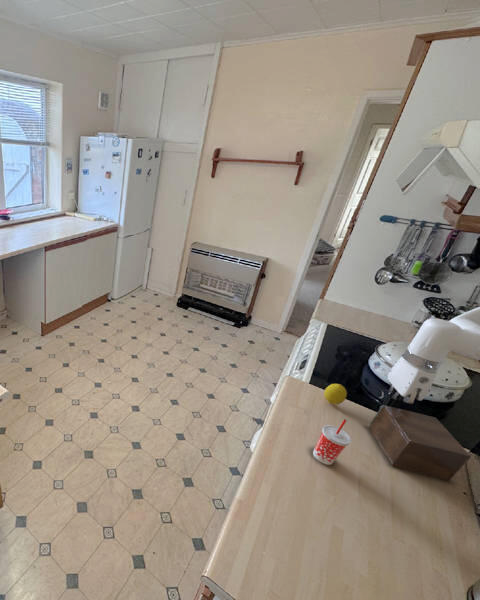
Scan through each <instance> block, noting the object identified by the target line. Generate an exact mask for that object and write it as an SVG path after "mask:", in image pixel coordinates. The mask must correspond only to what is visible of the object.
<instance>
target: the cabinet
mask: <svg viewBox="0 0 480 600" xmlns="http://www.w3.org/2000/svg"><path fill="white" fill-rule="evenodd" d="M382 405H383V404H382ZM379 410H380V409H379ZM377 413H378V412H377ZM375 416H376V415H375ZM373 419H374V418H373ZM371 422H372V421H371ZM368 430H369V432H370V433H371V435H372V437H373V438H374V440H375V441H376V443H377V445H378V446H379V448H380V449H381V451H382V452H383V454H384V456H385V457H386V459H387V461H388V462H389V464H390V465H391V466H392V467H395V468H399V469H402V470H406V471H410V472H413V473H418V474H421V475H423V476H427V477H431V478H435V479H438V480H442V481H445V482H450V481H451V480H452V479H453V477H454V476H455V475H456V474H458V472H459V471H460V470H461V468H462V467H463V466H464V465H465V464H466V463H467V462H468V461H469V460H470V459H471V457H472V456H471V455H470V453H468V451H467V450H466V449H465V448H464V447H463V446H462V444H460V443H459V441H457V439H456V438H455V437H454V436H453V435H452V434H451V432H449V431H448V429H447V428H446V427H445V426H444V425H443V424H442V423H441V422H440V420H439V419H438V418H437V417H436V416H435V417H434V416H429V415H426V414H422V413H418V412H414V411H410V410H407V409H406V410H405V409H402V408H394V407H389V406H385V405H383V407H382V408H381V410H380V412H379V413H378V415H377V416H376V418H375V419H374V421H373V422H372V424H370V426H368Z"/></svg>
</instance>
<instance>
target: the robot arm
mask: <svg viewBox="0 0 480 600" xmlns="http://www.w3.org/2000/svg"><path fill="white" fill-rule="evenodd" d="M450 353H455V354H457V355H460V356H463V357H466V358H468V359H472V360H475V361H480V306H479V307H476V308H473V309H470V310H469V311H466V312H464V313H461V314H459V315H457V316H455V317H452V318H451V319H450V320H445V319H441V318H435V317H431V318H427V319H426V320H425V321H423V323H422V325H421V326H420V328H419V329H418V330H417V332H416V334H415V336H414V337H413V339H412V340H411V341H410V343H409V345H408V346H407V348H406V350H405V351H404V353H403V354H402V356H401V357H400V358H399V359H398V360H397V361H396V362H395V363H394V365H393V366H392V368H391V369H390V371H389V372H388V375H387V376H386V377H387V380H388V383H389V386H390V387H389V389H388V393H387V396H386V397H385V398H384V400H383V402H382V405H385V406H389V407H394V408H398V409H400V406H402V403H404V402H405V404H410V405H413V404H414V401H415V400H417V401H420V402H421V401H423V400H424V399H425V397H426V396H427V394H428V393H429V391H430V389H431V388H432V386H433V384H434V382H435V379H436V377H437V370H438V369H439V368H440V366H441V365H442V364H443V362H444V361H445V359H446V358H447V357H448V355H449V354H450Z"/></svg>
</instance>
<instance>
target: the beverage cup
mask: <svg viewBox="0 0 480 600" xmlns="http://www.w3.org/2000/svg"><path fill="white" fill-rule="evenodd" d="M346 422H347V420H346V419H343V421H342V422H341V424H340V425H339V427H338V426H336V425H332V424H325V425H324V426H323V427H322V429H321V433H320V436H319V438H318V440H317V441H316V445H315V447H314V449H313V451H312V455H313V457H314V458H315V459H316V460H317V461H318V462H320V463H322V464H324V465H327V466H330V465H331V466H332V465H333V463H334V462H335V461H336V459H337V458H338V457H339V455H341V453H342V452H343V451H344V449H345V448H346V447H347V446H349V445H350V443H351V442H352V438H351V437H350V435H349V433H347V432H346V431H345V430H343V427H344V425H345V424H346Z"/></svg>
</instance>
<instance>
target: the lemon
mask: <svg viewBox="0 0 480 600" xmlns="http://www.w3.org/2000/svg"><path fill="white" fill-rule="evenodd" d="M347 395H348V392H347V389H346V388H345V386H344V385H342V384H340V383H331V384H329V385H328V386H326V388H325V389H324V393H323V396H324V399H325V400H326V401H327V402H328V403H329V404H330V405H340V404H342V403H343V402H345V401H346V399H347Z"/></svg>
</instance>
